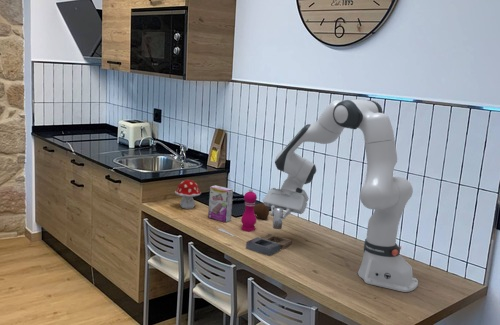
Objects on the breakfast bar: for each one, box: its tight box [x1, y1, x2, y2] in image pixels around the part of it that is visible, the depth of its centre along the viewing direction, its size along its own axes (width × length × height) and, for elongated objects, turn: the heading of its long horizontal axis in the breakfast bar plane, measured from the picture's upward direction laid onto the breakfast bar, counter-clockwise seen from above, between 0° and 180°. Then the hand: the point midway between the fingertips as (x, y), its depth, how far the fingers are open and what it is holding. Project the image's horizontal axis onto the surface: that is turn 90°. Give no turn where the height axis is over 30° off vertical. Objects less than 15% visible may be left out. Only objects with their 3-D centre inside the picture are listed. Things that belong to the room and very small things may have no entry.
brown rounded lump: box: [254, 202, 270, 220], centre depth 263 cm, size 7×10×8 cm
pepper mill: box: [240, 188, 258, 232], centre depth 242 cm, size 7×7×20 cm
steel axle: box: [272, 207, 284, 230], centre depth 225 cm, size 4×4×9 cm
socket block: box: [245, 236, 281, 257], centre depth 219 cm, size 12×8×3 cm
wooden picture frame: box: [260, 233, 293, 251], centre depth 227 cm, size 12×8×2 cm
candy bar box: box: [207, 184, 234, 223], centre depth 255 cm, size 11×5×16 cm, turn 58°
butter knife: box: [217, 228, 235, 237], centre depth 233 cm, size 1×24×3 cm
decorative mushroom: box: [174, 179, 202, 210], centre depth 272 cm, size 14×14×15 cm
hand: (277, 216), depth 224 cm, fingers closed on steel axle, 4 cm apart
